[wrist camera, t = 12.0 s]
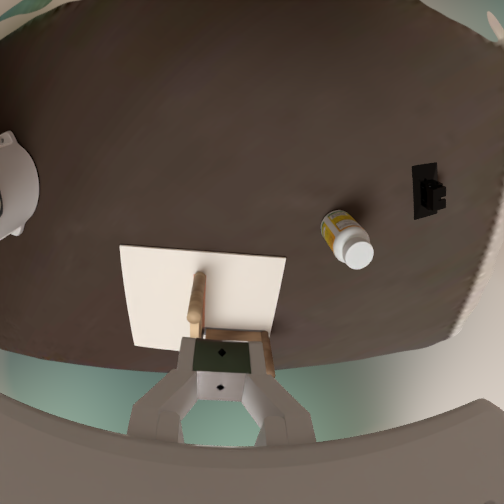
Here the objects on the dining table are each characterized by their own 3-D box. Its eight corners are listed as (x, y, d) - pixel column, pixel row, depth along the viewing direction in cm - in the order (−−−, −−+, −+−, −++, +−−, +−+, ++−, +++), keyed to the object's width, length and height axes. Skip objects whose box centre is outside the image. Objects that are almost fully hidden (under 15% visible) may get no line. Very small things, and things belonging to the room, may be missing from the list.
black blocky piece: (438, 219, 44) (452, 229, 40) (407, 228, 44) (421, 239, 40) (437, 152, 38) (454, 158, 34) (404, 157, 38) (420, 163, 34)
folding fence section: (194, 271, 44) (186, 312, 35) (205, 272, 44) (200, 313, 35) (193, 326, 49) (188, 369, 40) (203, 326, 49) (200, 370, 40)
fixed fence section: (193, 333, 50) (188, 376, 41) (193, 326, 49) (188, 369, 40) (267, 337, 52) (274, 379, 43) (269, 330, 51) (276, 372, 42)
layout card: (135, 344, 51) (134, 345, 51) (120, 244, 41) (119, 245, 41) (265, 354, 54) (265, 355, 54) (285, 257, 44) (286, 258, 44)
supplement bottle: (334, 202, 41) (360, 227, 32) (358, 221, 42) (386, 249, 34) (312, 230, 43) (332, 261, 34) (337, 247, 44) (359, 280, 36)
